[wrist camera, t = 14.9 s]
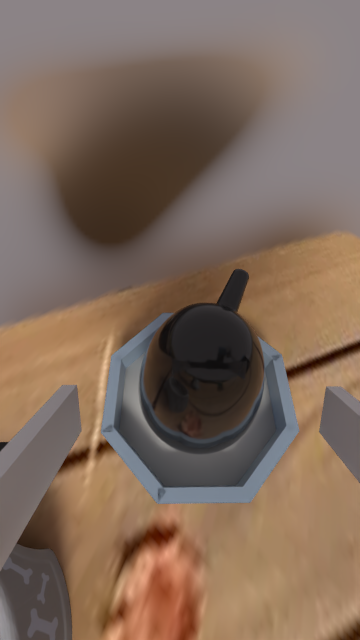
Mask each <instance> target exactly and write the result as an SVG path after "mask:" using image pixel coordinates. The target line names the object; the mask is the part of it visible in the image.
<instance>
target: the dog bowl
mask: <svg viewBox="0 0 360 640" xmlns="http://www.w3.org/2000/svg"><path fill="white" fill-rule="evenodd" d="M0 640H72V621H71V609H70V602H69V596H68V591H67V587H66V583H65V579H64V576H63V572H62V570H61V567H60V564H59V562H58V559H57V558H56V556H55V554H54V552H53V551H52V550H51V549H43V550H42V549H39V550H37V549H32V548H27V547H23V546H21V545H19V544H17V543H16V545H15V547H14V548H13V550H12V552H11V553H10V555H9V557H8V559H7V560H6V562H5V564H4V566H3V567H2V569H1V571H0Z"/></svg>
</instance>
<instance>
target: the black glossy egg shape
mask: <svg viewBox="0 0 360 640" xmlns="http://www.w3.org/2000/svg"><path fill="white" fill-rule="evenodd" d="M248 279H249V274H248V273H247V272H246V271H244V270H242V269H236V270H234V271H233V273H232V275H231V277H230V278H229V280H228V282H227V284H226V286H225V288H224V290H223V292H222V294H221V296H220V297H219V299H218V301H217V303H196V304H192V305H189V306H186V307H184V308H182V309H180V310H178V311H177V312H175V313H174V314H172V315H171V316H170V317H169V318H168V319H167V320H166V321H165V322H164V323H163V324H162V325H161V326H160V327H159V329H158V330H157V331H156V333H155V334H154V336H153V338H152V340H151V342H150V343H149V346H148V348H147V350H146V352H145V355H144V358H143V361H142V364H141V368H140V373H139V383H138V394H139V402H140V407H141V410H142V413H143V416H144V418H145V420H146V422H147V424H148V425H149V427H150V428H151V430H152V431H153V432H154V433H155V434H156V436H157V437H158V438H159V439H161V440H162V441H163V442H164V443H166V444H167V445H169V446H170V447H172V448H174V449H176V450H179V451H181V452H185V453H189V454H198V455H202V454H211V453H215V452H218V451H221V450H224V449H226V448H228V447H229V446H231V445H233V444H234V443H235V442H237V441H238V440H239V439H240V438H241V437H242V436H243V435H244V434H245V433H246V432H247V430H248V429H249V427H250V426H251V424H252V422H253V421H254V419H255V417H256V414H257V412H258V410H259V407H260V404H261V400H262V396H263V391H264V382H265V362H264V355H263V351H262V347H261V344H260V341H259V338H258V336H257V334H256V332H255V331H254V329H253V327H252V326H251V325H250V324H249V322H248V321H247V320H246V319H245V318H243V317H242V316H241V315H240V314H238V313H237V312H238V309H239V306H240V303H241V300H242V297H243V294H244V291H245V288H246V285H247V282H248Z"/></svg>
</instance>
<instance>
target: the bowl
mask: <svg viewBox="0 0 360 640" xmlns="http://www.w3.org/2000/svg"><path fill="white" fill-rule="evenodd" d="M172 314H174V313H162V314H161V315H160V316H159V317H158V318H156V319H155V320H154V321H153V322H152V323H150V324H149V325H148V326H147V327H145V328H144V329H143V330H142V331H141V332H139V333H138V334H137V335H136V336H135V337H133V338H132V339H131V340H130V341H129V342H127V343H126V344H125V345H124V346H122V347H121V348H120V349H119V350H118V351H116V352H115V353H114V354H113V355H112V356H111V363H110V370H109V378H108V385H107V392H106V399H105V406H104V414H103V421H102V428H101V433H102V434H103V436H104V437H105V438H106V439H107V441H108V442H109V443H110V445H111V446H112V447H113V448H114V450H115V451H116V452H117V453H118V455H119V456H120V457H121V458H122V460H123V461H124V462H125V463H126V465H127V466H128V467H129V469H130V470H131V471H132V472H133V474H134V475H135V476H136V477H137V479H138V480H139V481H140V482H141V484H142V485H143V486H144V488H145V489H146V490H147V491H148V493H149V494H150V495H151V496H152V498H153V499H154V500H155V501H156V503H158V504H175V503H250V502H251V501H252V499H253V498H254V496H255V495H256V493H257V492H258V490H259V489H260V488H261V486H262V485H263V483H264V482H265V480H266V479H267V477H268V476H269V474H270V473H271V471H272V470H273V469H274V467H275V466H276V464H277V463H278V461H279V460H280V458H281V457H282V455H283V454H284V452H285V451H286V449H287V448H288V447H289V445H290V444H291V442H292V441H293V439H294V438H295V436H296V435H297V433H298V432H299V427H298V423H297V419H296V414H295V410H294V406H293V401H292V397H291V393H290V388H289V384H288V380H287V375H286V371H285V367H284V362H283V358H282V355H281V354H280V353H279V352H278V351H276V350H275V349H274V348H272V347H271V346H270V345H268V344H267V343H266V342H264V341H263V340H262V339H261V338H259V337H258V338H259V341H260V344H261V347H262V351H263V355H264V362H265V382H264V391H263V396H262V400H261V404H260V407H259V410H258V412H257V414H256V417H255V419H254V421H253V422H252V424H251V426H250V427H249V429H248V430H247V432H246V433H245V434H244V435H243V436H242V437H241V438H240V439H239V440H238V441H237V442H235V443H234V444H233V445H231V446H229V447H228V448H226V449H224V450H221V451H218V452H215V453H211V454H202V455H198V454H189V453H185V452H181V451H179V450H176V449H174V448H172V447H170V446H169V445H167V444H166V443H164V442H163V441H162V440H161V439H159V438H158V437H157V436H156V434H155V433H154V432H153V431H152V430H151V428H150V427H149V425H148V424H147V422H146V420H145V418H144V416H143V413H142V410H141V407H140V402H139V394H138V383H139V373H140V368H141V364H142V361H143V358H144V355H145V352H146V350H147V348H148V346H149V343H150V342H151V340H152V338H153V336H154V334H155V333H156V331H157V330H158V329H159V327H160V326H161V325H162V324H163V323H164V322H165V321H166V320H167V319H168V318H169V317H170V316H171V315H172Z"/></svg>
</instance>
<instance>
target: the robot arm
mask: <svg viewBox="0 0 360 640" xmlns="http://www.w3.org/2000/svg"><path fill="white" fill-rule="evenodd" d="M80 432H81V421H80V411H79V401H78V391H77V385H62V386H61V387H60V388H59V389H58V390H57V391H56V392H55V394H54V395H53V396H52V397H51V398H50V399H49V400H48V401H47V402H46V403H45V404H44V405H43V406H42V407H41V408H40V410H39V411H38V412H37V413H36V414H35V415H34V416H33V417H32V418H31V419H30V420H29V421H28V422H27V423H26V425H25V426H24V427H23V428H22V429H21V430H20V431H19V432H18V433H17V434H16V435H15V436H14V437H13V438H12V439H11V441H10V442H0V571H1V569H2V567H3V566H4V564H5V562H6V560H7V559H8V557H9V555H10V553H11V552H12V550H13V548H14V547H15V545H16V543H17V541H18V540H19V538H20V536H21V534H22V533H23V531H24V529H25V527H26V526H27V524H28V522H29V521H30V519H31V517H32V515H33V514H34V512H35V510H36V508H37V507H38V505H39V503H40V502H41V500H42V498H43V496H44V495H45V493H46V491H47V489H48V488H49V486H50V484H51V482H52V481H53V479H54V477H55V476H56V474H57V472H58V470H59V469H60V467H61V465H62V463H63V462H64V460H65V458H66V457H67V455H68V453H69V451H70V450H71V448H72V446H73V444H74V443H75V441H76V439H77V437H78V436H79V434H80ZM319 432H320V434H321V435H322V436H323V437H324V439H325V440H326V441H327V442H328V444H329V445H330V446H331V447H332V449H333V450H334V451H335V453H336V454H337V455H338V456H339V458H340V459H341V460H342V461H343V463H344V464H345V465H346V466H347V468H348V469H349V470H350V471H351V473H352V474H353V475H354V476H355V478H356V479H357V480H358V481H359V483H360V402H359V401H358V400H357V399H356V398H354V397H353V396H352V395H351V394H349V393H348V392H347V391H346V390H344V389H343V388H342V387H326V392H325V398H324V405H323V411H322V417H321V424H320V430H319Z"/></svg>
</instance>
